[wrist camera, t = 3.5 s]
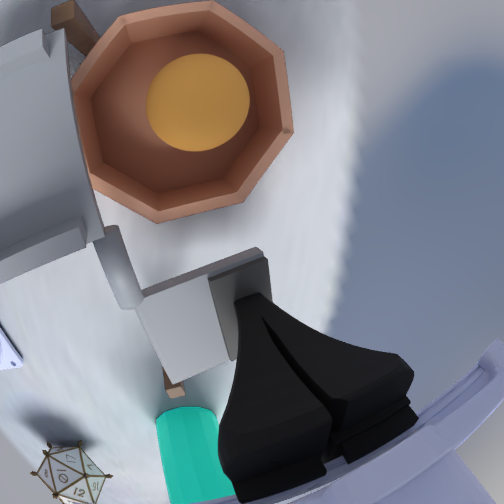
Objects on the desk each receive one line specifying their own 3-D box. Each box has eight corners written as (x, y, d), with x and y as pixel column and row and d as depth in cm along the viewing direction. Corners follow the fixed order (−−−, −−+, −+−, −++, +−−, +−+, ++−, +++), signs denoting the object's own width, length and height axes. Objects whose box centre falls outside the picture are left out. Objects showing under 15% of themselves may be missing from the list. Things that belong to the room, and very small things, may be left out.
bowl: (110, 214, 14) (98, 240, 11) (78, 54, 9) (57, 37, 6) (270, 175, 16) (298, 190, 13) (250, 21, 11) (275, -1, 8)
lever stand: (60, 348, 16) (46, 417, 11) (-31, 107, 8) (-95, 114, 3) (173, 322, 18) (185, 395, 13) (103, 42, 10) (73, -1, 5)
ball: (238, 138, 13) (155, 156, 12) (227, 59, 11) (140, 74, 10) (272, 145, 10) (156, 169, 9) (257, 37, 8) (136, 53, 7)
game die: (72, 429, 25) (55, 489, 18) (30, 413, 18) (11, 485, 12) (131, 459, 23) (114, 524, 17) (94, 455, 17) (74, 534, 11)
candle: (142, 422, 22) (163, 538, 11) (190, 398, 22) (228, 526, 12) (182, 441, 25) (210, 539, 15) (228, 420, 25) (268, 524, 15)
